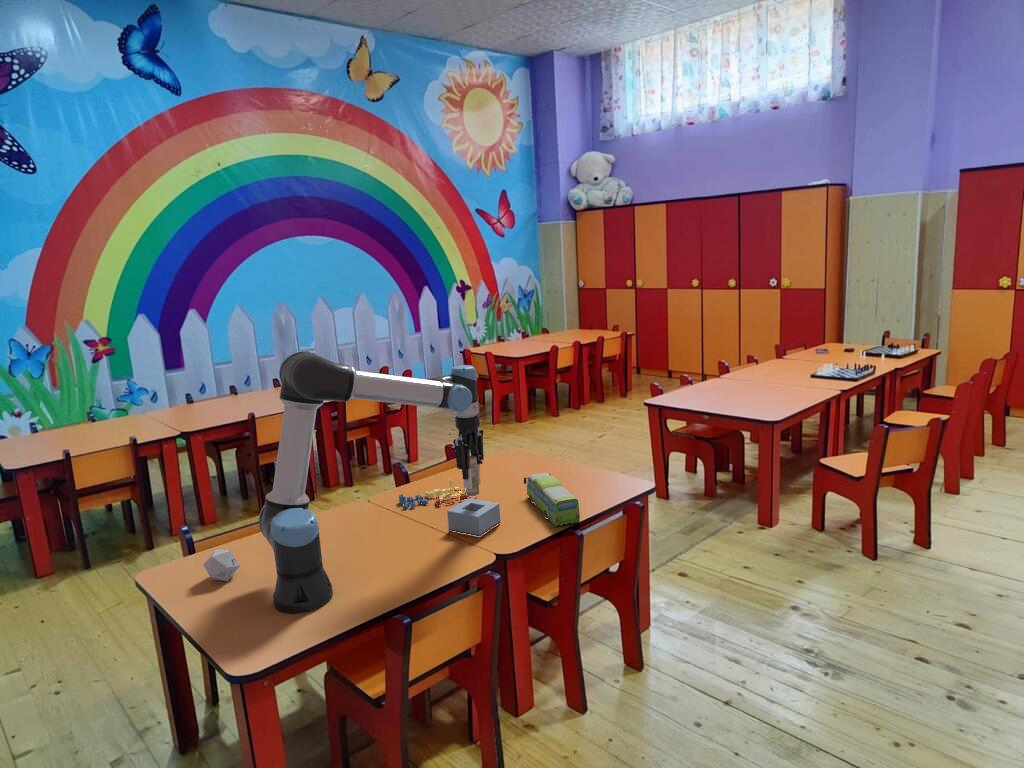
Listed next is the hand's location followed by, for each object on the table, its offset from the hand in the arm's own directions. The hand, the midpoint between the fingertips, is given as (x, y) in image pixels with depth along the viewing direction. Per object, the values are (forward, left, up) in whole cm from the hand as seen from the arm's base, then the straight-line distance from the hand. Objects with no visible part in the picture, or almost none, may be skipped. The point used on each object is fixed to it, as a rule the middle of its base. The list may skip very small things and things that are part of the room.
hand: (472, 485), depth 222 cm
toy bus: (+23, -16, -15) cm, 32 cm away
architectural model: (+22, +22, -15) cm, 34 cm away
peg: (0, 0, -3) cm, 3 cm away
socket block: (0, 0, -14) cm, 14 cm away
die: (-60, +46, -14) cm, 77 cm away
